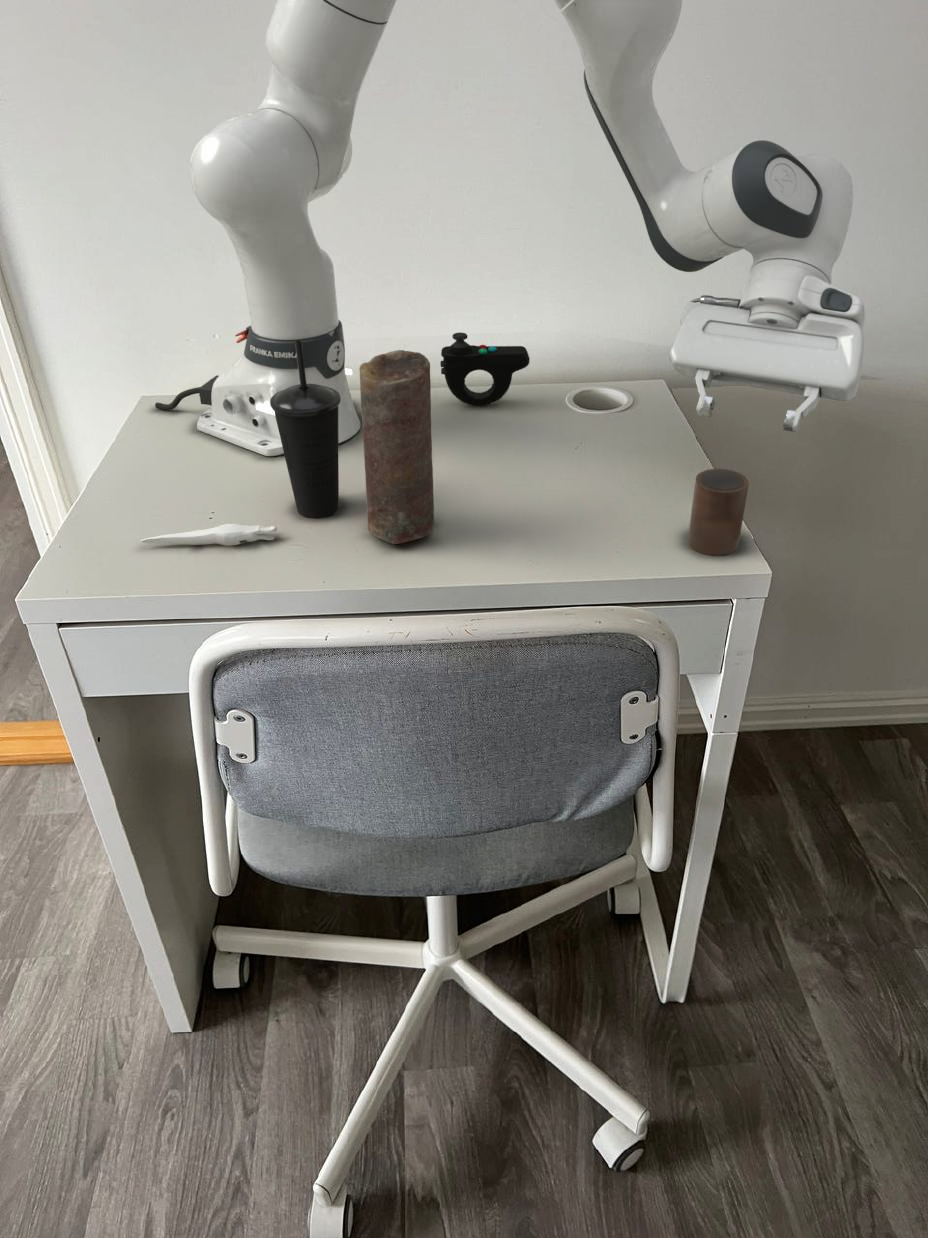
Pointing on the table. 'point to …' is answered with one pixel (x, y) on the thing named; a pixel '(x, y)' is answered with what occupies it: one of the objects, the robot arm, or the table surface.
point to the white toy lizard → (216, 535)
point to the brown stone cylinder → (398, 445)
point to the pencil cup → (717, 511)
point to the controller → (480, 368)
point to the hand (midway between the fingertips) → (745, 421)
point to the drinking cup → (310, 442)
